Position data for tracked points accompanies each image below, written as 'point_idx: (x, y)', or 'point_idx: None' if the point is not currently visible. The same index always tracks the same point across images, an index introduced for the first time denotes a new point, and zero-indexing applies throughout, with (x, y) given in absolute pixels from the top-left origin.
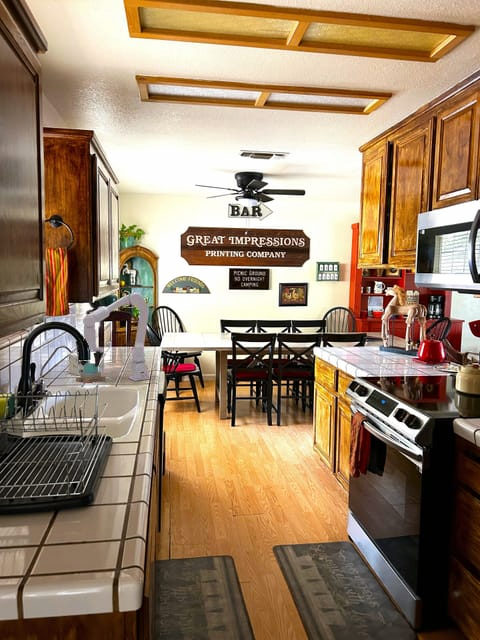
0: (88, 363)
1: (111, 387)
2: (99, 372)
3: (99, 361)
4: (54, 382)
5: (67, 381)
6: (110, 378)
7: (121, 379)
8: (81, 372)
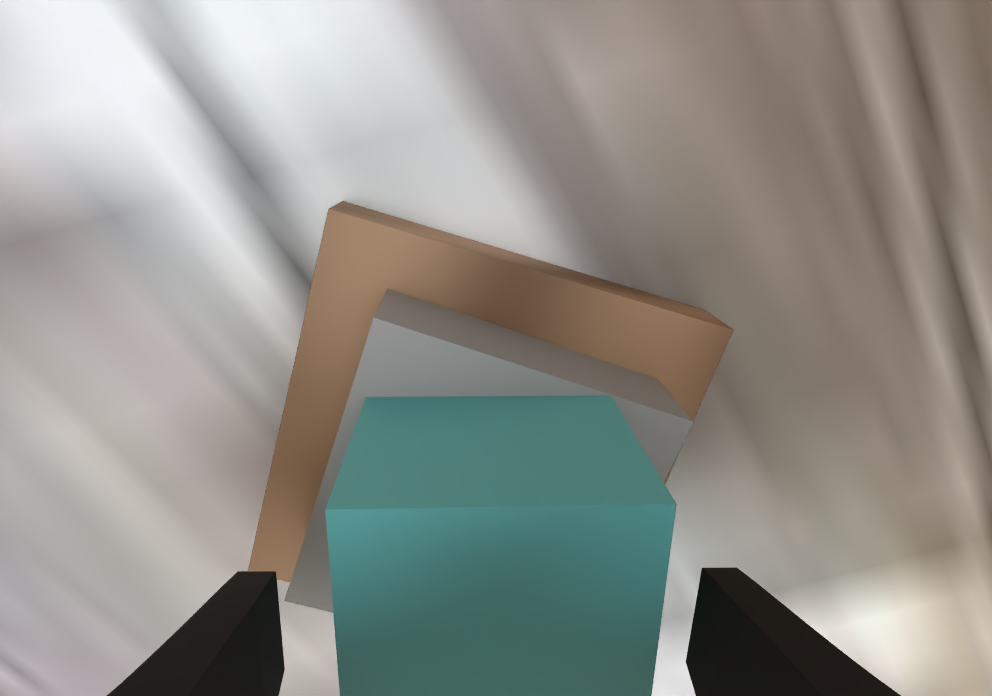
0: (340, 565)
1: (973, 690)
2: (675, 451)
3: (840, 670)
4: (3, 681)
5: (139, 577)
6: (743, 155)
7: (984, 185)
8: (304, 587)
